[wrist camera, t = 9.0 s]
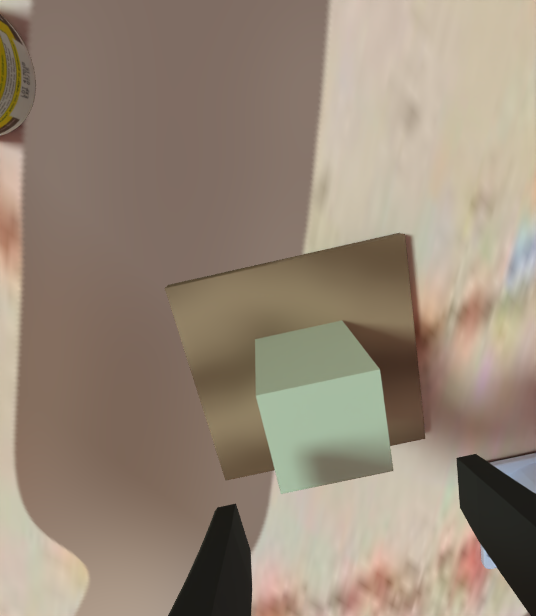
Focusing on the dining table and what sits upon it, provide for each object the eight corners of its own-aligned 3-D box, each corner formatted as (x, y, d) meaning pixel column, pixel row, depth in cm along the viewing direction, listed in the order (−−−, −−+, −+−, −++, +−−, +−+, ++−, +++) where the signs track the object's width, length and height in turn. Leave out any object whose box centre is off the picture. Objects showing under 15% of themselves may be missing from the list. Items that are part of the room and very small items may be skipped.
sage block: (354, 397, 21) (393, 470, 15) (273, 414, 21) (281, 493, 15) (342, 320, 19) (379, 369, 13) (255, 339, 19) (255, 395, 14)
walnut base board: (419, 430, 22) (425, 438, 22) (226, 471, 23) (225, 480, 22) (398, 233, 19) (404, 234, 18) (168, 284, 19) (164, 288, 18)
